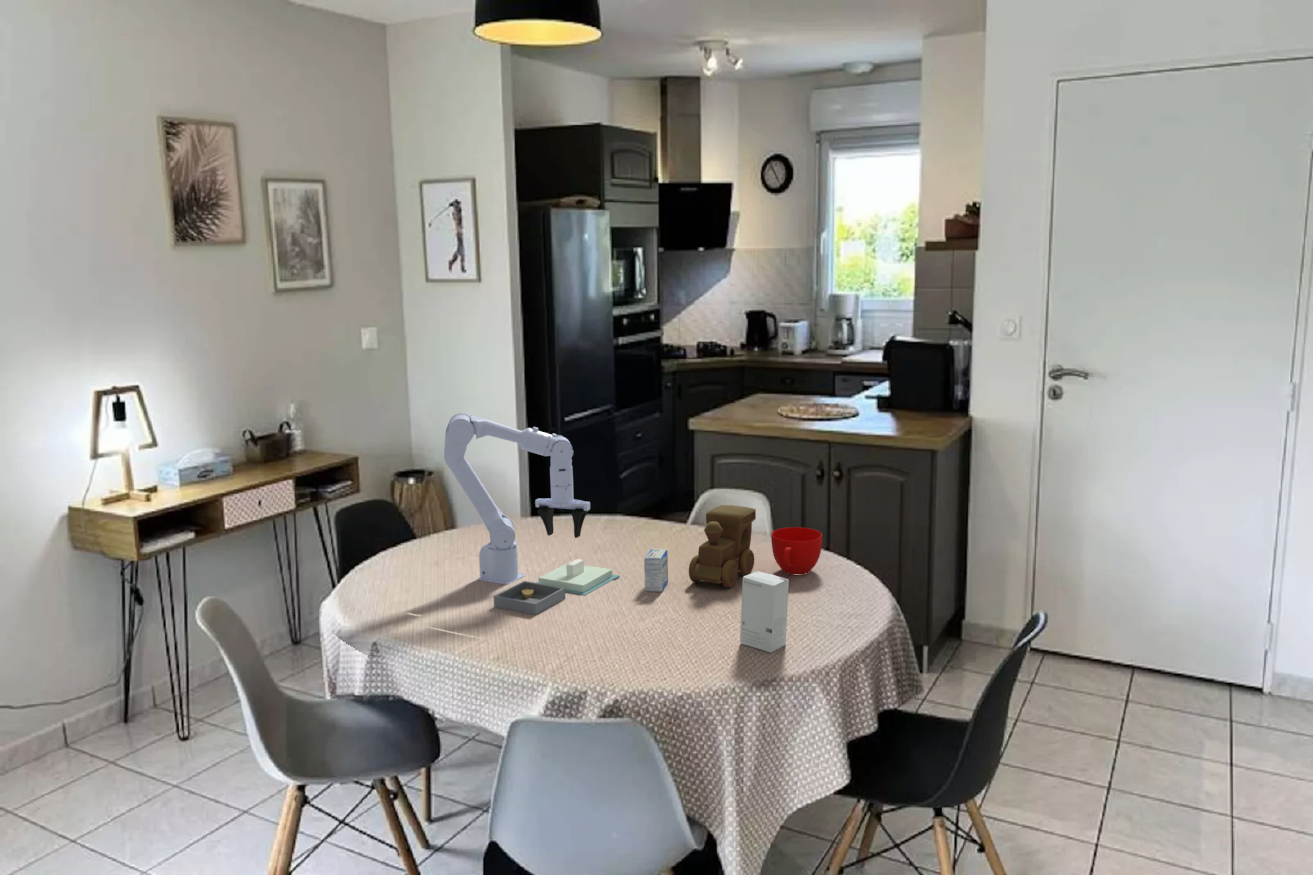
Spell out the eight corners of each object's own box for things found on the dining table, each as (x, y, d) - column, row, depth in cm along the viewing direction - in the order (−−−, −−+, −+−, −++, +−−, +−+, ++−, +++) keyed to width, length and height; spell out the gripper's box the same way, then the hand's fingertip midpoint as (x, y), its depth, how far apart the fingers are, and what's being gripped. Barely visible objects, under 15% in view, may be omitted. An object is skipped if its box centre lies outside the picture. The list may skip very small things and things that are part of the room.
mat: (531, 587, 242) (531, 585, 242) (567, 568, 256) (567, 567, 256) (585, 596, 234) (585, 594, 234) (619, 577, 248) (619, 575, 248)
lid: (538, 584, 242) (537, 566, 242) (568, 569, 254) (567, 551, 253) (583, 592, 236) (583, 573, 235) (612, 576, 248) (611, 558, 247)
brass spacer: (519, 598, 233) (518, 590, 233) (526, 594, 235) (526, 587, 235) (529, 600, 231) (529, 592, 231) (536, 596, 234) (536, 588, 234)
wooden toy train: (719, 564, 257) (719, 503, 254) (759, 570, 252) (759, 508, 249) (684, 586, 240) (683, 521, 237) (726, 593, 235) (726, 527, 232)
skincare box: (739, 644, 204) (739, 576, 201) (755, 635, 209) (755, 569, 206) (773, 654, 199) (773, 584, 196) (789, 645, 203) (789, 577, 200)
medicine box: (662, 592, 236) (661, 558, 235) (644, 591, 237) (643, 557, 236) (668, 582, 244) (667, 548, 242) (651, 581, 245) (650, 548, 243)
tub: (494, 608, 228) (493, 596, 227) (525, 592, 238) (524, 581, 238) (535, 616, 222) (535, 604, 222) (565, 600, 232) (565, 588, 232)
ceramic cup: (760, 581, 243) (760, 543, 241) (778, 561, 258) (778, 525, 257) (811, 587, 238) (812, 547, 236) (826, 566, 254) (827, 529, 252)
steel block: (523, 607, 227) (523, 601, 227) (530, 603, 229) (529, 597, 229) (537, 610, 225) (537, 603, 225) (543, 606, 227) (543, 600, 227)
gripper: (529, 486, 246) (531, 537, 248) (581, 489, 241) (583, 542, 243) (541, 479, 252) (543, 530, 255) (592, 483, 248) (594, 534, 250)
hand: (563, 535), depth 250 cm, fingers open, 7 cm apart
